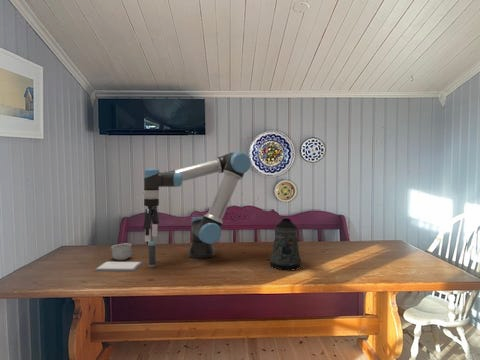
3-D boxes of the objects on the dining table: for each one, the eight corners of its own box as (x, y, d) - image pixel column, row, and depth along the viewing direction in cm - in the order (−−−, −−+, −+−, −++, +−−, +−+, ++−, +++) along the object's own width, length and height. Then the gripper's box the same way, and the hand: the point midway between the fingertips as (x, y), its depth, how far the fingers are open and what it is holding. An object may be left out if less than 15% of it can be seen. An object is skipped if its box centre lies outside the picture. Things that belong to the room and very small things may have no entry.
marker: (156, 265, 186) (156, 241, 185) (154, 267, 182) (154, 243, 182) (149, 265, 186) (149, 241, 185) (147, 267, 182) (147, 242, 182)
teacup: (125, 262, 192) (125, 247, 192) (107, 261, 195) (107, 246, 194) (137, 255, 206) (137, 242, 206) (120, 254, 208) (120, 241, 208)
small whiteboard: (142, 263, 190) (142, 261, 190) (134, 271, 176) (133, 269, 176) (105, 263, 190) (105, 261, 190) (94, 270, 176) (94, 268, 176)
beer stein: (274, 271, 176) (274, 222, 175) (265, 261, 195) (265, 216, 194) (305, 270, 179) (306, 221, 178) (293, 260, 198) (294, 216, 197)
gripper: (150, 196, 195) (150, 234, 196) (136, 200, 170) (136, 243, 171) (164, 196, 195) (164, 234, 196) (152, 200, 170) (152, 244, 171)
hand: (151, 238), depth 183 cm, fingers open, 13 cm apart
